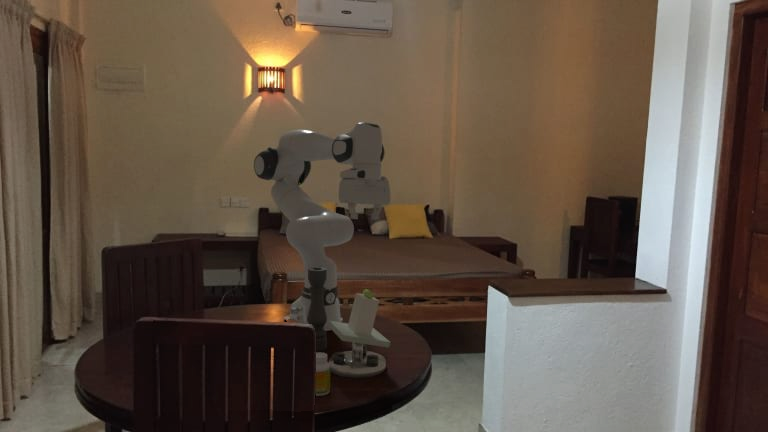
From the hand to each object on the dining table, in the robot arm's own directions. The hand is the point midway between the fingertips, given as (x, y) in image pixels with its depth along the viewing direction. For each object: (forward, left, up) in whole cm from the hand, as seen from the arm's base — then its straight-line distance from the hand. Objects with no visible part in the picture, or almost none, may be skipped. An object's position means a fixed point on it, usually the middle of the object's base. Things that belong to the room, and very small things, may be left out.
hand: (364, 219), depth 174 cm
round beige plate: (+14, -13, -40) cm, 44 cm away
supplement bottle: (+21, -31, -40) cm, 55 cm away
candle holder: (-6, -13, -40) cm, 43 cm away
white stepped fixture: (+14, -13, -31) cm, 36 cm away
